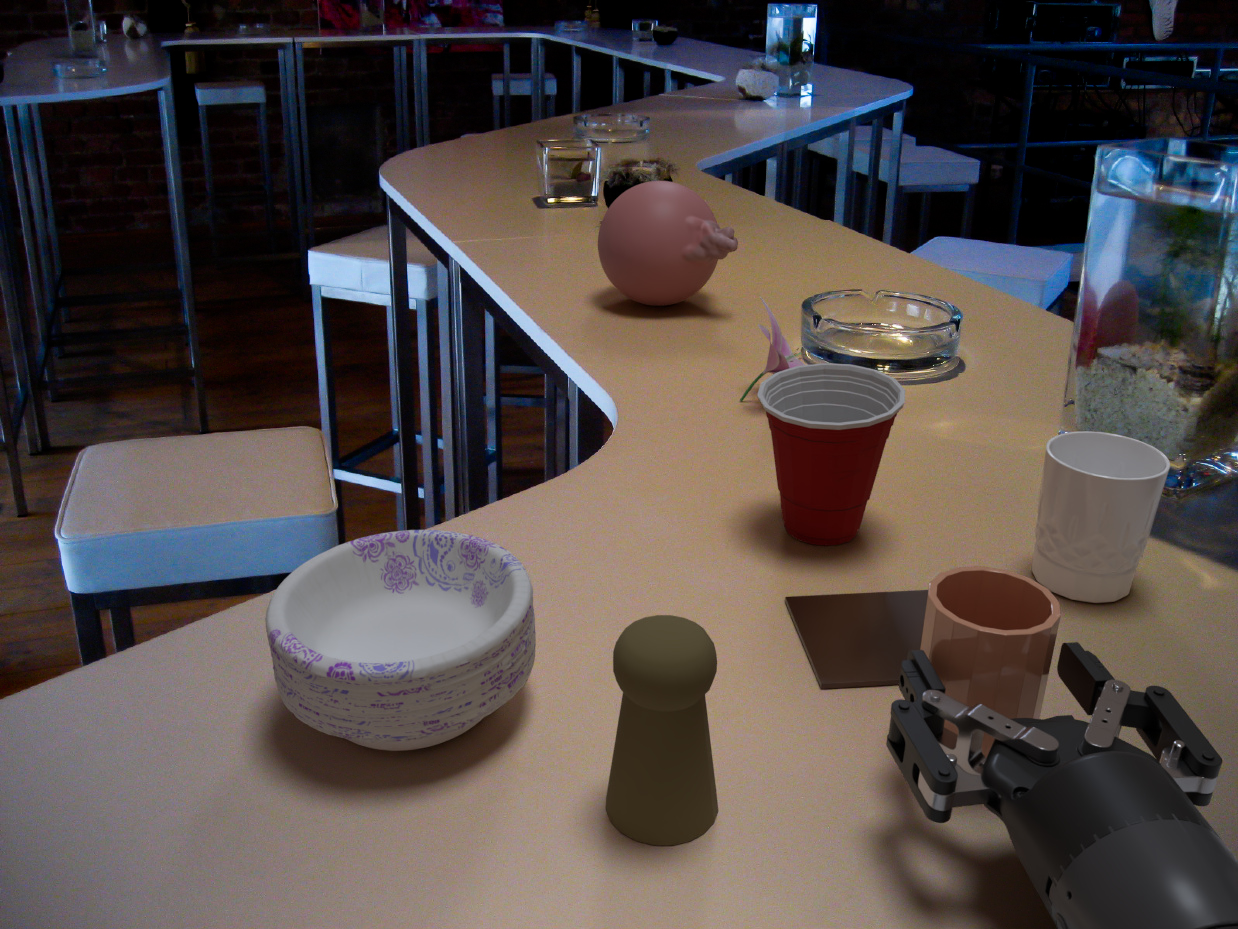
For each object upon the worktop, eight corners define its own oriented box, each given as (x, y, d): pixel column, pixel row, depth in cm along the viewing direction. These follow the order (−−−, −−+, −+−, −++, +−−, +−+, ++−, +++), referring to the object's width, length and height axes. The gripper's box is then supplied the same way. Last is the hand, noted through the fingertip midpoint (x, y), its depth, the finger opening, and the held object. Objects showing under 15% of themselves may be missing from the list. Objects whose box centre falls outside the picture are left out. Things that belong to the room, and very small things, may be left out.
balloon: (685, 339, 127) (688, 206, 120) (573, 302, 140) (571, 181, 133) (770, 311, 136) (778, 187, 130) (658, 279, 149) (660, 165, 143)
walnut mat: (978, 591, 77) (979, 587, 77) (1040, 677, 68) (1041, 671, 68) (784, 601, 76) (785, 596, 76) (821, 689, 67) (821, 683, 67)
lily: (776, 446, 102) (834, 361, 99) (683, 375, 106) (735, 291, 103) (817, 439, 112) (870, 362, 109) (731, 374, 116) (780, 298, 113)
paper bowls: (251, 791, 59) (228, 671, 55) (315, 631, 73) (300, 527, 69) (531, 787, 59) (526, 667, 56) (543, 628, 73) (539, 524, 69)
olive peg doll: (581, 803, 58) (578, 631, 53) (659, 750, 62) (663, 585, 57) (664, 864, 54) (668, 685, 49) (741, 804, 58) (752, 632, 53)
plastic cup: (721, 526, 86) (727, 384, 81) (809, 485, 92) (820, 351, 87) (830, 580, 78) (844, 428, 73) (917, 532, 85) (936, 389, 80)
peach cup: (1000, 707, 65) (1027, 563, 61) (1050, 784, 59) (1083, 631, 55) (892, 713, 65) (911, 568, 61) (930, 791, 59) (955, 637, 55)
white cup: (1035, 542, 83) (1058, 422, 79) (1147, 569, 80) (1176, 445, 75) (1012, 589, 77) (1035, 462, 73) (1131, 621, 74) (1162, 489, 69)
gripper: (1336, 813, 43) (1128, 594, 58) (989, 836, 42) (866, 607, 57) (1286, 947, 46) (1101, 707, 61) (962, 972, 45) (853, 722, 60)
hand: (988, 659), depth 59 cm, fingers open, 8 cm apart
